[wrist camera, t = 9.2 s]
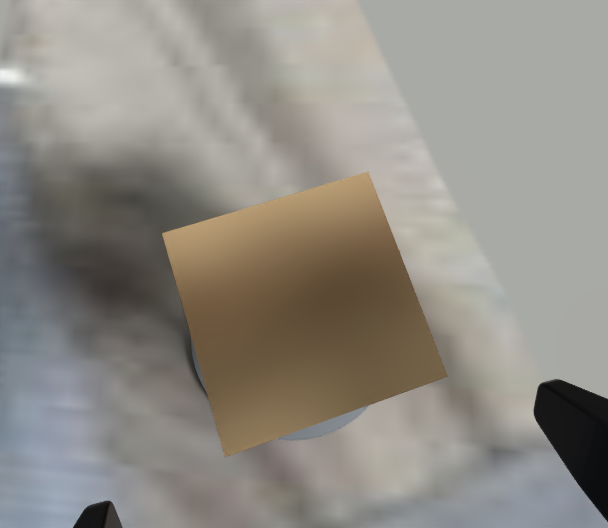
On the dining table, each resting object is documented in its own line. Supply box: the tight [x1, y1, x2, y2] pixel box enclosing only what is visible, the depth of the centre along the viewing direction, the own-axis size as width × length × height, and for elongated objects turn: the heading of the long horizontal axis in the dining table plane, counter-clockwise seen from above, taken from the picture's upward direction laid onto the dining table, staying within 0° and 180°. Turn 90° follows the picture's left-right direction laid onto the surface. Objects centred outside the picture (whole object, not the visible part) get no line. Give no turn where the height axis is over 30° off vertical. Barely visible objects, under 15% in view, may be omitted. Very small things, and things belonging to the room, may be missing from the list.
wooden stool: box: [162, 172, 448, 457], centre depth 17 cm, size 6×6×10 cm
